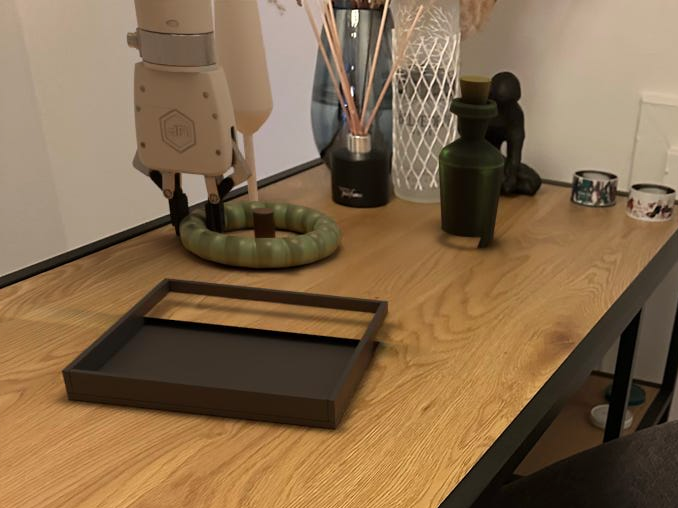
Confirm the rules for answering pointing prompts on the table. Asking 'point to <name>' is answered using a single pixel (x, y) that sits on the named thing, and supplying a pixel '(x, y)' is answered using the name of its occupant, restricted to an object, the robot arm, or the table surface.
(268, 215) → the post
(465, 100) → the potion bottle
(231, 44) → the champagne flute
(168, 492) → the table surface
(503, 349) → the table surface
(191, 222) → the ring
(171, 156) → the robot arm
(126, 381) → the tray
